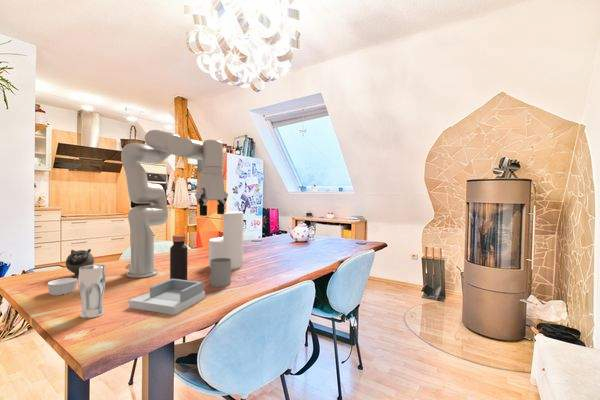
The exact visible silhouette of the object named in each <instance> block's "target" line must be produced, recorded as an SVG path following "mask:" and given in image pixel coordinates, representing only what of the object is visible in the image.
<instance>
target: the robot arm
mask: <svg viewBox="0 0 600 400" xmlns="http://www.w3.org/2000/svg"><path fill="white" fill-rule="evenodd" d="M144 141H145V143H139V142H132V143H131V142H129V143H126V144H125V145H124V146H123V148H122V150H121V154H120V156H121V157H120V158H121V159H120V161H121V164H122V167H123V170H124V172H125V176H126V186H127V193H128V196H129V197H128V198H129V200H130V201H131V202H132V203H134V204H150V205H137V206H134V207H132V208H131V209H130V210H129V211H128V213H127V219H128V225H129V232H130V263H128V264H127V265H126V266H125V267H124V268H125V270H128V272H127V273H126V277H128V278H131V279H138V278H139V279H141V278H148V277H153V276H156V275H157V274H158V272H159V271H158V269H156V268H155V235H154V232H153V231H152V229H151V227H153V226H160V225H164V224H166V222H167V221H168V219H169V210H168V203H167V198H166V197H167V196H166V191H165V189H164V188H163V186H162V185H161V184H159V183H154V182H153V183H152V182H149V179H148V175H147V171H146V170H145V169H144V167H143V165H142V164H141V163H144V164H152V165H153V164H154V165H157V164H158V165H159V164H161V163H162V162H164V161H166V159H168V158H169V157H170V156H171V155H172V156H177V157H180V158H185V159H190V160H191V159H192V160H198V161H202V174H201V175H200V179H199V185H198V191H197V192H195V193H194V196H195V199H196V202H197V203H198V205H199V216H202V217H207V216H208V205H207V203H208V202H209V201H216V202H217V203H218V204H216V205H217V206H216V208H217V211H216V213H217V215H223V214H224V213H225V205H226V202H227V201H228V196H229V193H227V192H226V191H225V181H224V176H223V172H224V171H223V163H224V162H223V159H224V158H223V155H224V153H223V151H224V150H223V147H224V145H223V142H222V141H221V140H217V139H205V140H204V141H200V140H196V139H191V138H186V137H182V136H180V135H179V134H177V133H172V132H168V131H165V130H159V129H151V130H149V131H147V132H146V134H145V135H144Z"/></svg>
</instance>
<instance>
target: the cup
mask: <svg viewBox="0 0 600 400" xmlns="http://www.w3.org/2000/svg"><path fill="white" fill-rule="evenodd" d="M209 269H210V270H209V271H210V275H209V276H210V282H209V283H210V286H211V287H214V286H215V288H219V287H227V286H229V285H231V284H232V283H231V281H232V280H231V279H232V269H231V259H229V258H216V259H212V260H211V261H210V267H209Z"/></svg>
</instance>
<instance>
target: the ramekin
mask: <svg viewBox="0 0 600 400" xmlns="http://www.w3.org/2000/svg"><path fill="white" fill-rule="evenodd" d="M77 281H78V278H73V277H65V278H58V279H54V280H50V281H48V282H47V283H46V284H47V286H48V294H49V295H50V296H63V295H62V294H64V295H69V294H71V292H72V293H75V291H76V290H77ZM68 293H69V294H68Z"/></svg>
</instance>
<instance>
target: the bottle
mask: <svg viewBox="0 0 600 400" xmlns="http://www.w3.org/2000/svg"><path fill="white" fill-rule="evenodd" d="M185 242H186V235H184V234H175V235H172V243H173V244H172V245H171V246H170V248H169V280H170V279H180V280H188V246H187V245H186V244H185Z"/></svg>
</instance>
